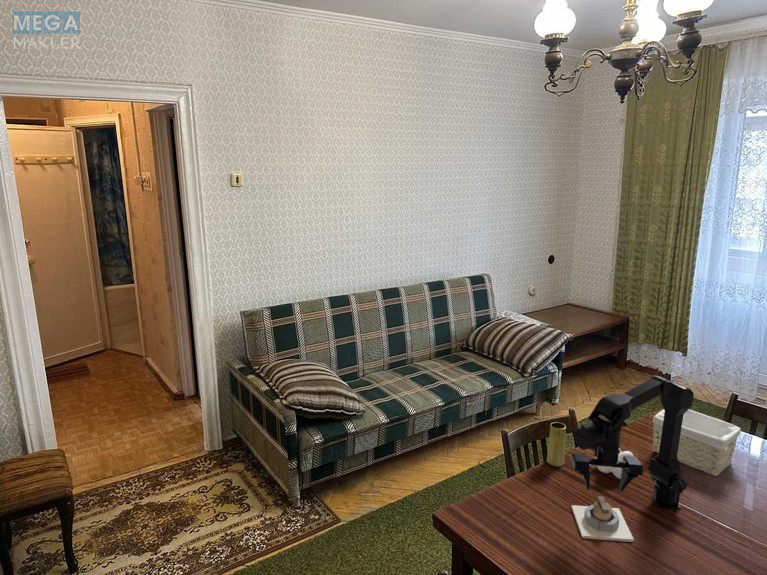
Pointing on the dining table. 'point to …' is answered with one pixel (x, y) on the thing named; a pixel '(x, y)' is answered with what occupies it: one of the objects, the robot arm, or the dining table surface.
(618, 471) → the white curved piece
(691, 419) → the storage basket
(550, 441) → the vase
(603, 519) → the rotary grip knob
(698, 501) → the dining table surface
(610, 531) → the socket board
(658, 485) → the robot arm
